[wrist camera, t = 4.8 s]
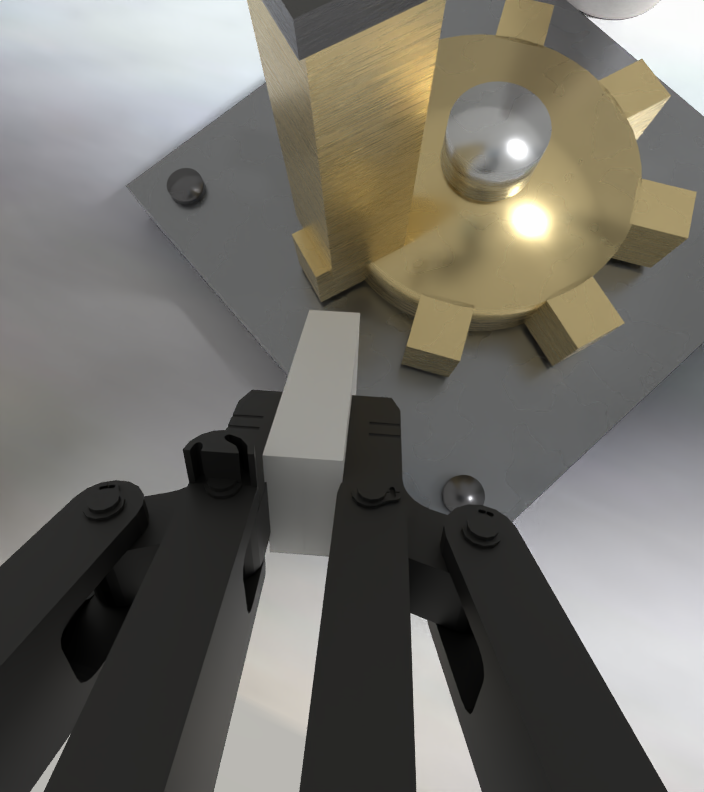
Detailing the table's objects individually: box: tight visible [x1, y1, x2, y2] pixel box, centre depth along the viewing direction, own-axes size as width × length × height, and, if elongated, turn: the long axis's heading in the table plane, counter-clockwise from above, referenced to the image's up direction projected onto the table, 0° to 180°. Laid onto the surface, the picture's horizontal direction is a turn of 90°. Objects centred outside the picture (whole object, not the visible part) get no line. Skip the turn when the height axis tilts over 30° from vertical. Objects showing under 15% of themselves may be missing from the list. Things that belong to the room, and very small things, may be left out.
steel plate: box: [127, 0, 704, 522], centre depth 21 cm, size 22×22×7 cm
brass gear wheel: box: [247, 0, 697, 377], centre depth 16 cm, size 16×16×13 cm
